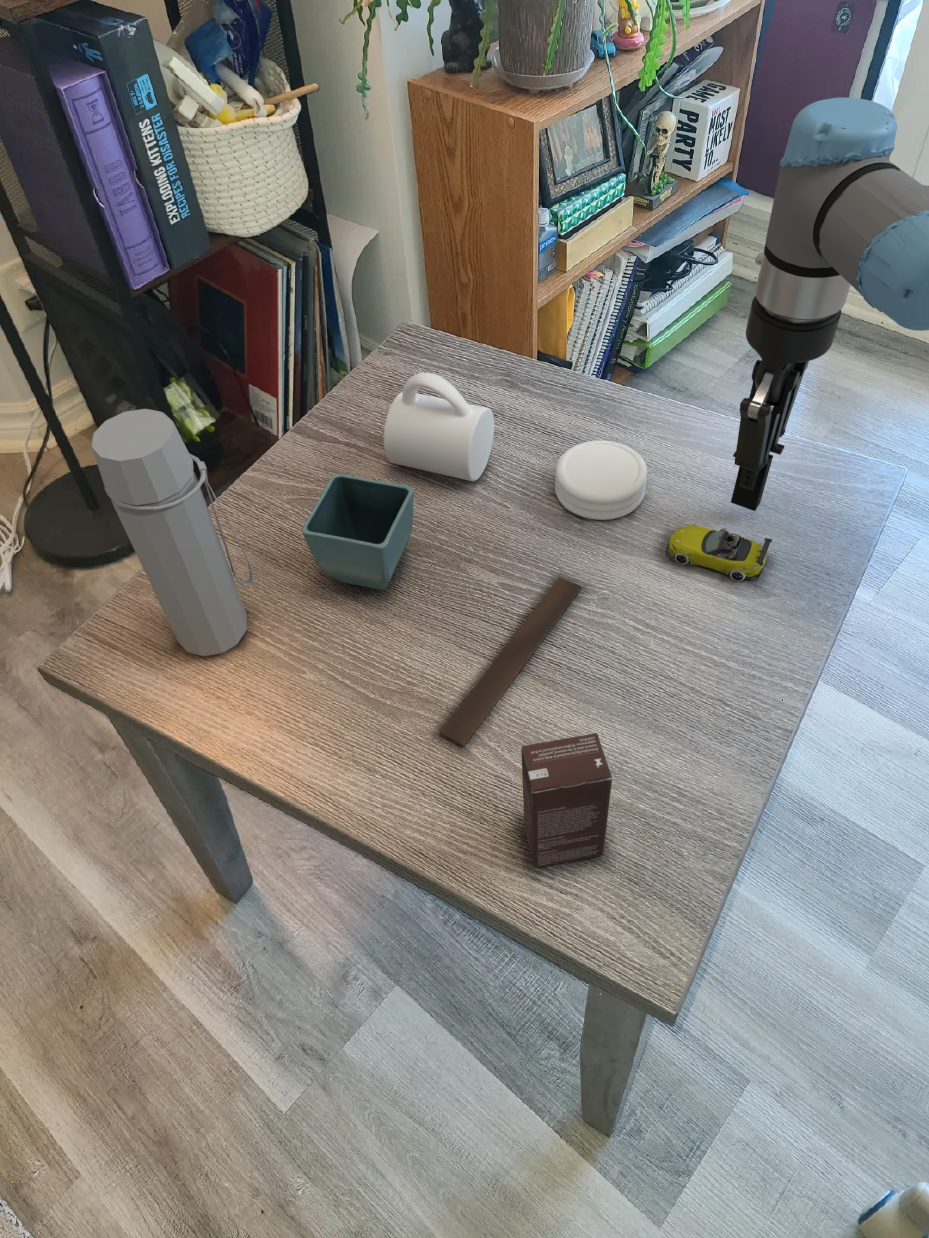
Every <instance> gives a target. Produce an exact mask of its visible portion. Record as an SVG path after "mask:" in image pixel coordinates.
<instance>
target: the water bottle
mask: <svg viewBox="0 0 929 1238" xmlns="http://www.w3.org/2000/svg"><path fill="white" fill-rule="evenodd" d="M91 450H92V452H93V456H94V458H95V461H96V465H97V468H98V470H99V474H100V477H101V480H102V483H103V487H104V491H105V492H106V495H107V496H108V497H109V498H110V501H111V503H112V505H113V508H114V511H115V512H116V514H117V516H118V518H119V520H120V522H121V525H122V526H123V529H124V531H125V533H126V535H127V537H128V539H129V541H130V543H131V546H132V548H133V550H134V552H135V554H136V556H137V558H138V560H139V563H140V565H141V567H142V569H143V571H144V573H145V575H146V577H147V580H148V582H149V584H150V586H151V588H152V590H153V592H154V594H155V597H156V599H157V601H158V603H159V605H160V607H161V609H162V612H163V613H164V615H165V618H166V620H167V623H168V624H169V626H170V628H171V630H172V632H173V635H174V636H175V639H176V641H177V642H178V643H179V645H180V646H181V647H182V648H183V649H184V650H185V652H187V653H190V654H194V655H197V656H201V657H208V656H215V655H222V654H224V653H226V652H227V651H229V650H231V649H232V648H235V647H236V646H237V645H238V644H239V642H240V641H241V640H242V638H243V636H244V634H245V633H246V632H247V630H248V614H247V612H246V609H245V606H244V603H243V601H242V598H241V595H240V592H239V589H238V587H237V585H236V582H237V583H238V584H239V585H240V586H241V587H244V588H247V587H250V586H252V585H254V572H253V567H252V564H251V561H250V559H249V557H248V554H247V553H246V551H245V550H244V548H243V546H242V544H241V542H240V540H239V538H238V536H237V534H236V532H235V530H234V529H233V526H232V525H231V523H230V521H229V519H228V517H227V515H226V513H225V512H224V510H223V508H222V505H221V504H220V502H219V499H218V498H217V496H216V494H215V493H214V491H213V489H212V487H211V484H210V483H209V479H208V468H207V466H206V463H205V461H204V460H203V461H201V460H200V459H199V457H197V456H196V455H193V454H191V453H189V451H188V448H187V447H186V445H185V442H184V441H183V439H182V436H181V434H180V433H179V431H178V429H177V426H176V424H175V423H174V421H173V420H172V419H171V418H170V417H169V416H168V415H167V414H165V413H164V412H163V411H159V410H154V409H149V408H141V409H134V410H128V411H123V412H121V413H119V414H116V415H115V416H113V417H111V418H108V419H106V420H105V421H103V423H102V424H101V425H100V426H99V427H98V428H97V429H96V430H95V431H94V432H93V434H92V441H91ZM194 462H195V464H196V465H197V468H198V471H199V475H200V478H199V480H198V477H197V474H196V472H194ZM203 484H205V488H206V492H207V493H208V494H207V495H208V497H209V500H210V504H211V507H212V511H213V513H214V517H215V521H216V524H217V526H218V530H219V534H220V536H221V540H222V542H223V546H224V549H225V550H224V549H223V546H222V543H221V541H220V538H219V534H218V532H217V530H216V526H215V525H214V521H213V518H212V516H211V513H210V510H209V507H208V505H207V502H206V499H205V497H204V493H203V491H202V489H201V487H202V485H203ZM209 489H210V490H209ZM211 493H212V495H213V497H214V500H215V502H216V503H217V505H218V507H219V509H220V511H221V513H222V515H223V517H224V519H225V522H226V523H227V524H228V526H229V529H230V531H231V532H232V534H233V537H234V538H235V540H236V542H237V544H238V546H239V548H240V549H241V552H242V553H243V555H244V558H245V560H246V562H247V566H248V570H249V579H247V580H245V581H244V580H242V579H240V577H238V576H237V573H236V570H235V566H234V564H233V561H232V557H231V554H230V552H229V547H228V545H227V542H226V539H225V536H224V533H223V529H222V526H221V523H220V520H219V517H218V514H217V511H216V509H215V505H214V502H213V499H212V495H211ZM224 551H225V552H224ZM225 553H226V554H225ZM226 556H227V557H226ZM227 559H228V560H227ZM234 578H235V579H234ZM235 580H236V582H235Z"/></svg>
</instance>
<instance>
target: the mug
mask: <svg viewBox="0 0 929 1238" xmlns="http://www.w3.org/2000/svg"><path fill="white" fill-rule="evenodd" d="M420 388H425V389H426V388H427V389H429V390H432V391H433V392H435V393H437V394H438V395H440V396H441V397H437V396H432V395H427V394H424V393H423V394H422V393H418V391H419V389H420ZM494 437H495V418H494V413H493V411H492V410H491V408H489V407H486V406H482V405H476V404H472V403H468V402H467V401H466V399H465V398H464V396H463V395H462V394H461V392H459V390H457V389H456V387H455V386H454V385H453V384H451V383H450V382H449V381H448V380H447V379H445V378H444V377H442V376H441V375H438V374H435V373H432V372H419V373H416V374H414V375H412V376H410V378H408V379H407V381H406V382H405V383H404V385H403V388H402V391H401V392H399V393H398V394H397V396H395V397H394V399H393V401H392V403H391V404H390V407H389V409H388V411H387V415H386V418H385V423H384V429H383V439H382V440H383V451H384V454H385V457H386V459H387V460H388V461H389V462H390V463H391V464H394V465H399V466H403V467H408V468H412V469H416V470H420V471H425V472H430V473H434V474H439V475H443V476H447V477H452V478H456V479H461V480H465V481H470V482H475V481H477V480H479V478H481V477H482V475H483V473H484V471H485V469H486V467H487V465H488V462H489V460H490V456H491V453H492V449H493V444H494Z"/></svg>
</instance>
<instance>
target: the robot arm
mask: <svg viewBox="0 0 929 1238" xmlns="http://www.w3.org/2000/svg"><path fill="white" fill-rule="evenodd" d="M897 131H898V125H897V121H896V117H895V114H894V113H893V112H892V110H891V109H889V108H888V107H886V106H885V105H883V104H881V103H878V102H876V101H873V100H868V99H864V98H857V97H832V98H826V99H820V100H818V101H815V102H812V103H810V104H808V105H806V106H805V107H803V108H802V109H801V110H800V111H799V112H798V113H797V115H796V116H795V118H794V119H793V122H792V124H791V128H790V132H789V136H788V139H787V144H786V147H785V150H784V155H783V157H782V158H781V159H780V161H779V166H780V167H779V172H778V176H777V181H776V182H777V183H776V187H775V192H774V197H773V202H772V207H771V212H770V216H769V217H770V218H769V222H768V227H767V231H766V237H765V244H764V247H763V248H764V249H763V252H759V253H758V254H757V256H756V257H755V260H754V261H755V264H756V265H758V266H760V270H759V273H758V276H757V281H756V285H755V290H754V295H755V296H754V297H753V298H752V300H751V306H750V308H749V314H748V319H747V323H746V327H745V338H746V341H747V343H748V345H749V346H750V347H751V349H752V350H753V351H755V352H756V353H757V355H758V356H759V357H760V359H757V360H756V361H755V364H754V366H753V368H752V372H751V380H752V385H751V389H750V391H749V392H750V393H749V397H744V398H743V399H742V400H741V401H740V404H739V416H740V420H739V427H738V434H737V441H736V442H737V443H736V448H735V451H734V453H733V454H732V457H733V458H734V463H733V464H734V466H738V471H737V475H736V479H735V483H734V487H733V492H732V495H731V500H730V503H731V504H733V505H736V506H739V507H741V508H743V509H744V508H745V509H746V510H749V511H752V512H756V511H757V509H758V508H759V506H760V504H761V502H762V499H763V494H764V491H765V487H766V484H767V480H768V478H769V477H768V476H769V473H770V469H771V465H772V462H773V459H774V455H773V454H775V455H779V456H781V454H782V453H783V451H784V449H785V446H786V445H783V444H780V443H779V441H780V438H782V437H783V436H784V435H785V433H786V430H787V429H786V428H787V425H788V422H789V419H790V416H791V413H792V410H793V407H794V404H795V401H796V398H797V395H798V392H799V389H800V386H801V383H802V380H803V377H804V374H805V371H807V368H808V366H809V362H810V361H814V360H816V359H819V358H821V357H822V356H824V355H825V354H826V353H827V352H829V350H830V349H831V347H832V345H833V342H834V339H835V335H836V333H837V329H838V326H839V322H840V319H841V316H842V309H844V307H845V305H846V302H847V299H848V295H849V292H850V289H851V287H853V288H854V290H855V291H856V292H857V293H858V294H859V295H860V296H861V297H863V300H864V301H865V302H866V303H867V304H868V305H869V306H870V307H871V308H872V309H875V310H877V311H878V312H879V313H883V314H884V315H885V316H887V317H888V318H889V319H891V320H892V321H893V322H895V323H896V324H897V325H898V326H900V327H901V328H904V329H907V330H910V331H916V332H917V331H920V332H922V331H923V332H924V331H929V185H926V184H922V183H921V182H919V181H918V180H917V179H916V178H914V177H913V176H911V175H910V174H908V173H906V172H905V171H904V170H902V169H901V168H900V167H898V166H897V165H896V164H894V163H893V162H891V161H890V157H891V154H892V153H893V151H894V150H895V140H896V135H897ZM771 453H773V454H771Z"/></svg>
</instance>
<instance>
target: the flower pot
mask: <svg viewBox="0 0 929 1238" xmlns="http://www.w3.org/2000/svg"><path fill="white" fill-rule="evenodd" d="M414 493H415V489H414V487H412V486H409V485H406V484H400V483H395V482H394V483H393V482H386V481H380V480H374V479H369V478H365V477H364V478H363V477H361V476H354V475H349V474H342V473H334V474H332V476H331V477H330V478H329V481H328V482H327V484H326V486H325V487H324V490H323V491H322V493H321V495H320V497H319V498H318V500H317V502H316V504H315V506H314V507H313V509H312V510H311V512H310V514H309V516H308V518H307V519H306V521H305V522H304V524H303V525H302V527H301V534H302V536H303V538H304V540H305V543H306V544H307V547H308V548H309V551H310V553H311V555H312V556H313V558H314V561H315V562H316V564H317V565H318V566H319V567H320V569H321V570H322V571H323V572H324V573H325V574H327V575H328V576H330V577H331V578H333V579H335V580H337V581H339V582H340V583H343V584H347V585H348V584H349V585H355V586H360V587H364V588H368V589H372V590H373V589H374V590H379V591H382V590H385V589H386V588H387V587H388V585H389V583H390V581H391V579H392V577H393V575H394V572H395V570H396V569H397V567H398V564H399V562H400V559H402V558H401V557H402V555H403V553H404V551H405V549H406V547H407V545H408V543H409V540H410V537H411V533H412V530H413V529H412V528H413V524H414V523H413V522H414V500H415V499H414V497H415V496H414Z"/></svg>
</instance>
